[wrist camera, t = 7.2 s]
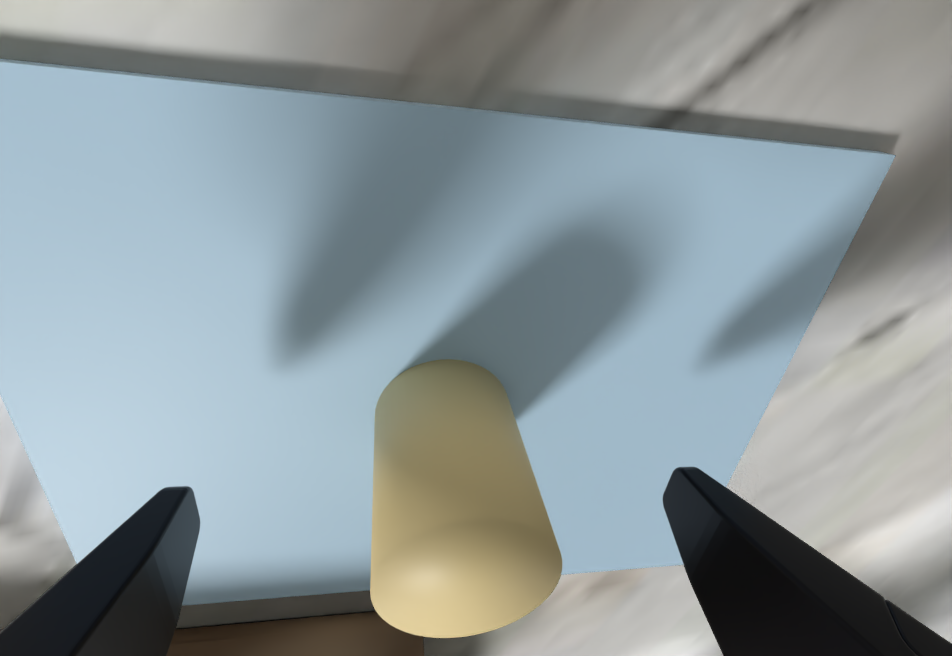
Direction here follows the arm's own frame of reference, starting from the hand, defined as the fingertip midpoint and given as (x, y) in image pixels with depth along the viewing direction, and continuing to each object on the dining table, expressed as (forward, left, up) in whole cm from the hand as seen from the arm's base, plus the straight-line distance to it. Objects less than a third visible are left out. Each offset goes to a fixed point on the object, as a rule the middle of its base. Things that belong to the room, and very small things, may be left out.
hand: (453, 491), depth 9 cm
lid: (0, 0, -3) cm, 3 cm away
